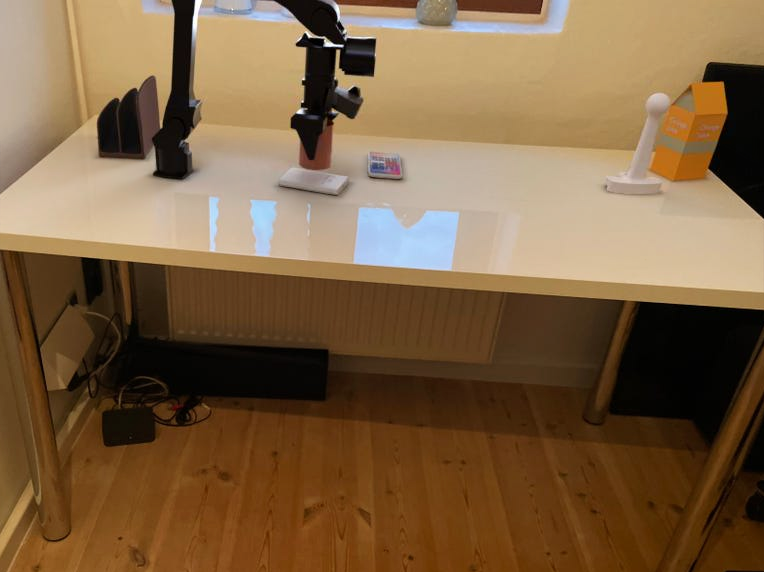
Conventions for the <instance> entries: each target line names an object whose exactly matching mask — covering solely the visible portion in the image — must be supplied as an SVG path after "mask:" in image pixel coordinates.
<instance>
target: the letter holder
mask: <svg viewBox="0 0 764 572" xmlns="http://www.w3.org/2000/svg"><path fill="white" fill-rule="evenodd" d="M159 107H160V106H159V95H158V86H157V78H156V76H155V75H150V76H148V77H147V78H146V79H145V80H144V81H143V82H142V83H141V85H140V87H139V89H138V88H137V87H132V88H131V89H129V90H128V91H127V92H126V93H125V94H124V95H123V97H122V98H121V100H120V98H118V97H114V98H113V99H111V100H110V101H108V103H107V104H106V105H105V106H104V107H103V108H102V110H101V111H100V114H99V115H98V117H97V119H96V133H97V148H98V157H100V158H113V159H116V158H117V159H118V158H119V159H133V160H134V159H137V160H138V159H139V160H145V159H146V157H147V155H148V153H149V152H150V150H151V148H152V147H153V146H154V144H153V142H152V137H153V136H154V135H155V134H156V133H157V132H158V131H159V130H160V129H161V128H162V127H161V120H160V108H159Z"/></svg>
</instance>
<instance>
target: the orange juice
mask: <svg viewBox="0 0 764 572" xmlns="http://www.w3.org/2000/svg"><path fill="white" fill-rule="evenodd" d="M728 113H729V112H728V105H727V98H726V90H725V83H724V81H705V82H704V81H703V82H691V83H690V85H688V86H687V88H686V89H685V90H684V91H683V92H682V93H681V94H680V95H679V96H678V97H677V98H676V99H675V100H674V101H673V102H672V104H671V103H670V107H669V109H668V111H667V115H666V118H665V121H664V123H663V127H662V130H661V133H660V136H659V139H658V142H657V147H656V149H655V153H654V156H653V160H652V162H651V165H650V169H649V170H650V171H651V172H654V173H655V174H658V175H660V176H662V177H664V178H666V179H668V180H670V181H672V182H678V181H679V182H680V181H691V180H692V181H693V180H702V179H705V178H706V174H707V172H708V170H709V166H710V164H711V160H712V158H713V155H714V153H715V151H716V148H717V144H718V142H719V139H720V136H721V132H722V130H723V127H724V124H725V123H726V120H727V116H728Z"/></svg>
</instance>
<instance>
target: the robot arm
mask: <svg viewBox="0 0 764 572" xmlns="http://www.w3.org/2000/svg"><path fill="white" fill-rule="evenodd" d="M202 1H203V0H170V2H171V4H172V8H173V9H172V10H173V15H174V16H173V35H172V36H173V37H172V38H173V39H172V59H171V60H172V61H171V64H172V65H171V80H170V81H171V85H170V92H169V95H168V99H167V102H166V106H165V109H164V113H163V117H162V121H161V122H162V123H161V127H160V128H161V129H160V130H159V131H158V132H157V133H156V134H155V135H154V136H153V137H152V142H153V147H154V156H155V170H154V171H153V173H152V175H153V176H155V177H162V178H168V179H177V180H184V179H185V178H186V177H187V176H188V175H189V174H190V173H192V172H193V170H194V167H193V153H192V150H190V142H187V141H186V140H187V139H188V138H189V137H190V135H191V134H192V133H193V132H194V130H196V128H197V126H198V125H199V123H200V122H201V121H202V119H203V118H202V113H201V111H202V110H201V109H202V105H203V99H196V96H195V92H194V84H195V83H194V81H195V66H196V65H195V64H196V51H197V50H196V47H197V31H198V15H199V12H200V11H199V10H200V8H201V5H202ZM272 1H273V2H275V3H276V4H278V5H279V6H281V7H283V8H284V9H286V10H287V11H288V12H289V13H290V14H292V16H293V17H294V18H295V19H296V20H297V21H298V22H299V24H301V25H302V26H303V27H304V28H305V29H307V31H304V32H303V34H302V36H301V37H300V38H299V39H297V40H296V42H295V44H294V45H295V47H296V48H305V58H304V59H305V60H304V61H305V62H304V77H303V78H302V79H301V86H303V99H302V100H301V102H300V108H299V109H298V110H297V111H296V112H295V113H294V114H292V116H290V129H292V130H295V131H296V133H297V135H298V139H299V140H301V142H302V145H303V147H304V150H305V152H306V155H307V158H308V160H312V161H313V160H314V158H315V154H316V150H317V145H318V141H319V136H320V135H321V134H322V133H323V132H324V131H325V130H326V129H327V128H328V127H326V125H327V119H329V120H331V121H333V122H334V120H335V119H336V118H337V117H338V116H339V114H342V115H343V116H346V118H347V119H350V120H355V118H356V117H357V116H358V114H359V111H360V109H361V108H362V105H363V103H364V101H365V100H364V97H363V96H361V95H362V93H361V88H360V87H358V86H356V85H353V86H351V87H350V88H349V89H347V88H342V87H340V86H339V79H338V77H337V76H336V68H337V67H336V66H337V52H338V51H339V56H338V57H339V58H338V69H339V70H341V72H343V75H344V76H350V77H351V76H353V77H365V78H374V77H375V72H376V71H375V69H376V62H377V61H376V59H377V53H376V48H377V37H376V36H366V37H363V36H362V37H361V36H349V33H348V32H347V29H346V28H345V26H344V25H343V23H342V21H341V19H340V15H341V12H340V9H339V5H338V4H337V2H336V1H334V0H272ZM308 31H309V32H310V33H311V34H312V35H314V36H311V35H310V34H309V33H308ZM326 40H328V41H329V42H327V41H326ZM333 110H334V111H333Z"/></svg>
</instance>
